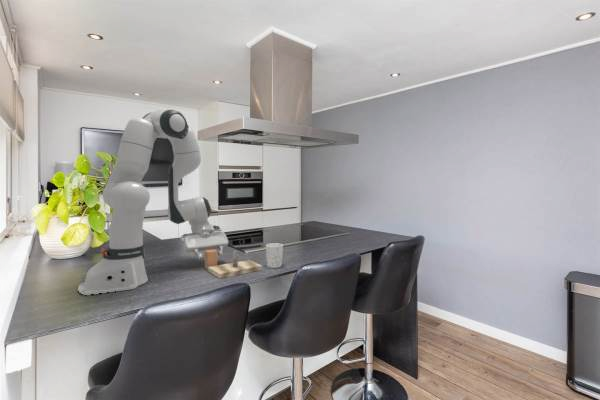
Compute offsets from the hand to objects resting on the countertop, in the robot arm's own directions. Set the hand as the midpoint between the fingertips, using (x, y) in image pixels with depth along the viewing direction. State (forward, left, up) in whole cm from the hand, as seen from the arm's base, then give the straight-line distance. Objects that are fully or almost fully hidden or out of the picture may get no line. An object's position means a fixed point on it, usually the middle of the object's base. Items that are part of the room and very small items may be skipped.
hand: (211, 256), depth 136 cm
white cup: (+25, -14, -5) cm, 29 cm away
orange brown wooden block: (0, 0, -5) cm, 5 cm away
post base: (+7, -10, -5) cm, 13 cm away
